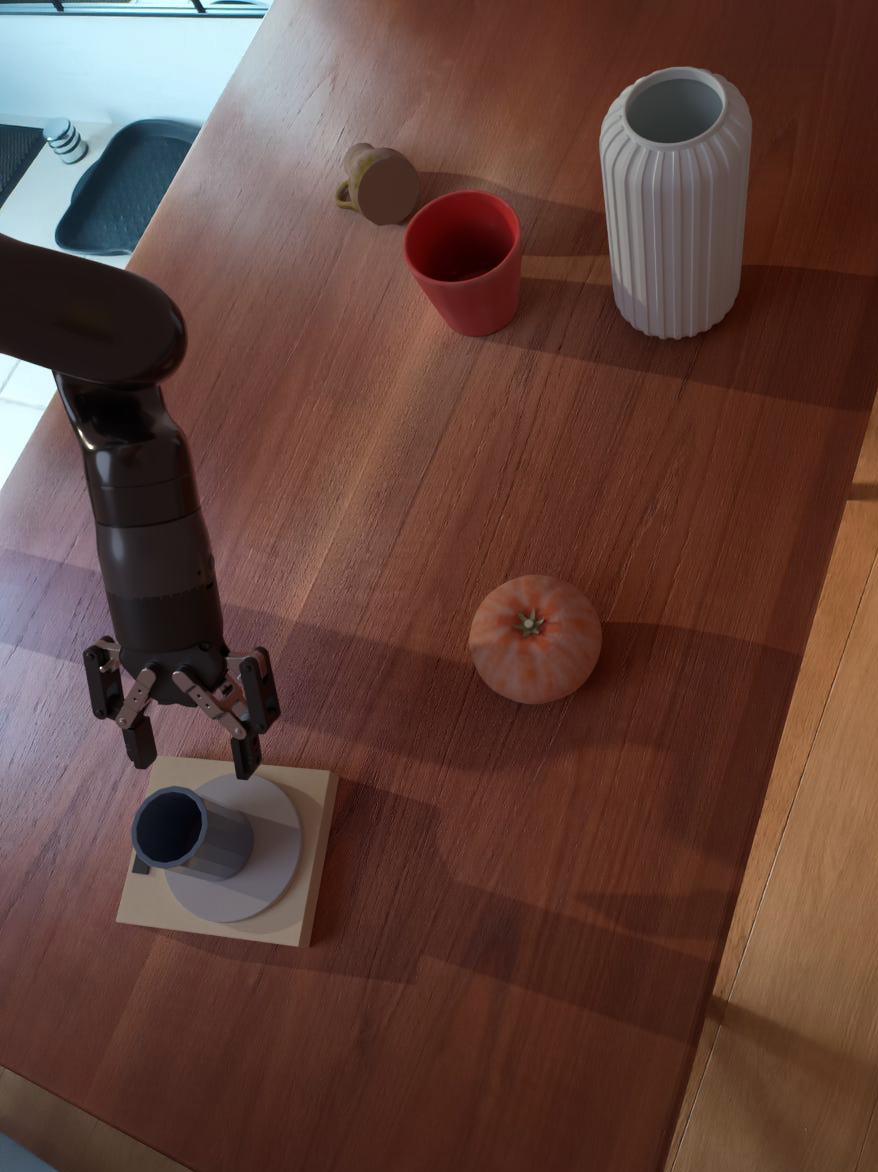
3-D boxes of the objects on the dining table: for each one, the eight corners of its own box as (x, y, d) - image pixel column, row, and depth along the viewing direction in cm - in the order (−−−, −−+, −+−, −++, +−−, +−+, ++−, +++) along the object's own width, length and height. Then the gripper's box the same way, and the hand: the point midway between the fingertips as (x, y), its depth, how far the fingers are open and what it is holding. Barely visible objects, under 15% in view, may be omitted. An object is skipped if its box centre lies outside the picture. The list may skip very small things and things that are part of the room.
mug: (384, 150, 108) (397, 99, 98) (416, 235, 108) (433, 193, 98) (319, 168, 106) (327, 117, 96) (353, 254, 106) (363, 213, 97)
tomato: (617, 700, 81) (611, 670, 74) (490, 728, 82) (471, 700, 75) (590, 583, 85) (582, 543, 78) (469, 611, 86) (450, 574, 79)
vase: (757, 326, 91) (779, 129, 70) (639, 370, 92) (626, 188, 71) (711, 236, 95) (719, 26, 75) (598, 279, 96) (576, 82, 76)
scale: (130, 924, 83) (110, 921, 80) (168, 760, 87) (150, 752, 84) (309, 948, 79) (294, 946, 76) (339, 776, 84) (327, 768, 81)
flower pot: (516, 359, 95) (499, 291, 86) (412, 341, 98) (385, 274, 89) (549, 270, 98) (536, 195, 89) (447, 255, 101) (424, 182, 92)
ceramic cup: (172, 835, 81) (118, 816, 73) (233, 793, 81) (185, 770, 74) (204, 896, 79) (151, 885, 71) (266, 853, 79) (221, 836, 71)
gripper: (37, 588, 67) (87, 787, 74) (228, 599, 64) (261, 806, 71) (99, 550, 74) (140, 737, 81) (275, 558, 71) (302, 752, 78)
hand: (197, 769), depth 76 cm, fingers open, 8 cm apart
